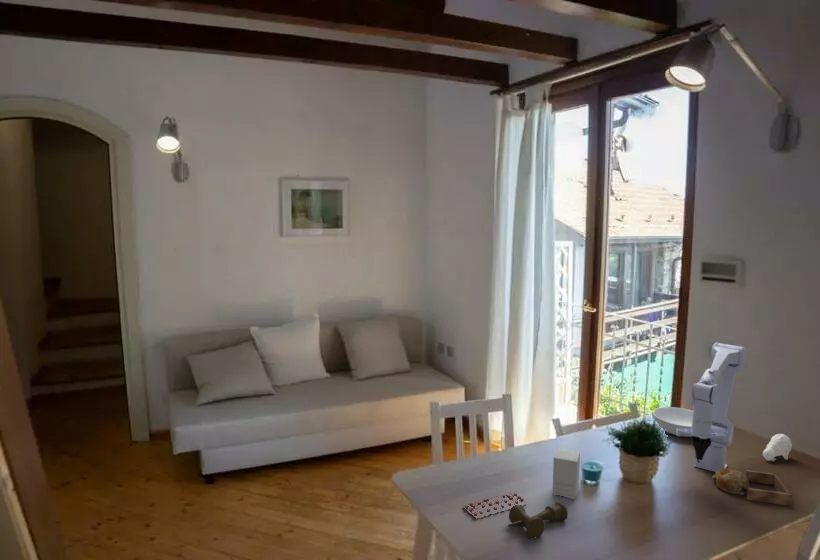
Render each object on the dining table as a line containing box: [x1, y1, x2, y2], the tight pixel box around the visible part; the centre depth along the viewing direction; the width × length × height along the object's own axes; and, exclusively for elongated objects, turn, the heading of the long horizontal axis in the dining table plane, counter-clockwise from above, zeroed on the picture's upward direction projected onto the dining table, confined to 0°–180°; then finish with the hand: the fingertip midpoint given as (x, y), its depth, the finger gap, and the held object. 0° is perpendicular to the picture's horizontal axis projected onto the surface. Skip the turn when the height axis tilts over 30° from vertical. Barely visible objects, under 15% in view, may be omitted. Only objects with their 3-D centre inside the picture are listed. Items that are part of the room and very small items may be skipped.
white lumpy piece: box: [762, 433, 793, 462], centre depth 203 cm, size 6×8×12 cm
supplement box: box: [552, 448, 581, 500], centre depth 177 cm, size 7×7×13 cm
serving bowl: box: [652, 406, 693, 437], centre depth 227 cm, size 21×21×7 cm
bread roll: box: [711, 468, 751, 496], centre depth 182 cm, size 10×10×8 cm
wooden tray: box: [744, 469, 793, 507], centre depth 180 cm, size 12×15×4 cm
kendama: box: [507, 501, 569, 539], centre depth 158 cm, size 6×10×20 cm
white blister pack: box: [462, 491, 527, 516], centre depth 169 cm, size 7×19×2 cm, turn 117°
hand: (698, 458), depth 184 cm, fingers closed
